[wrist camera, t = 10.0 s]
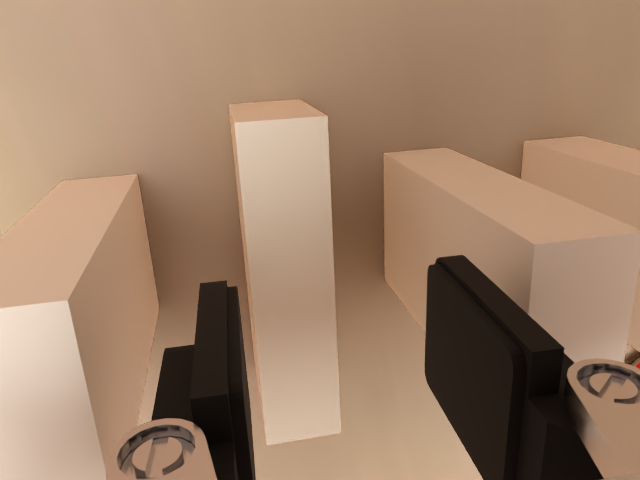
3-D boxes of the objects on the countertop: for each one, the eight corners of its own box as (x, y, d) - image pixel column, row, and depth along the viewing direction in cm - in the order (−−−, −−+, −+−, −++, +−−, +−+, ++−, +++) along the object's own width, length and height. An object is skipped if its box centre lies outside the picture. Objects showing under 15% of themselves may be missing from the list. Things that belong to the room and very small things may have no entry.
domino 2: (446, 147, 20) (644, 232, 11) (442, 272, 22) (612, 435, 13) (383, 152, 20) (534, 244, 11) (384, 279, 22) (516, 453, 12)
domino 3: (581, 135, 21) (870, 204, 12) (568, 256, 23) (812, 399, 14) (523, 140, 21) (775, 216, 12) (514, 263, 23) (727, 414, 13)
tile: (314, 353, 22) (298, 98, 19) (341, 433, 18) (327, 116, 14) (254, 361, 22) (228, 103, 19) (266, 445, 17) (234, 122, 14)
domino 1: (137, 173, 19) (66, 300, 9) (159, 307, 20) (118, 525, 11) (62, 180, 18) (-88, 318, 9) (90, 316, 20) (-12, 550, 11)
